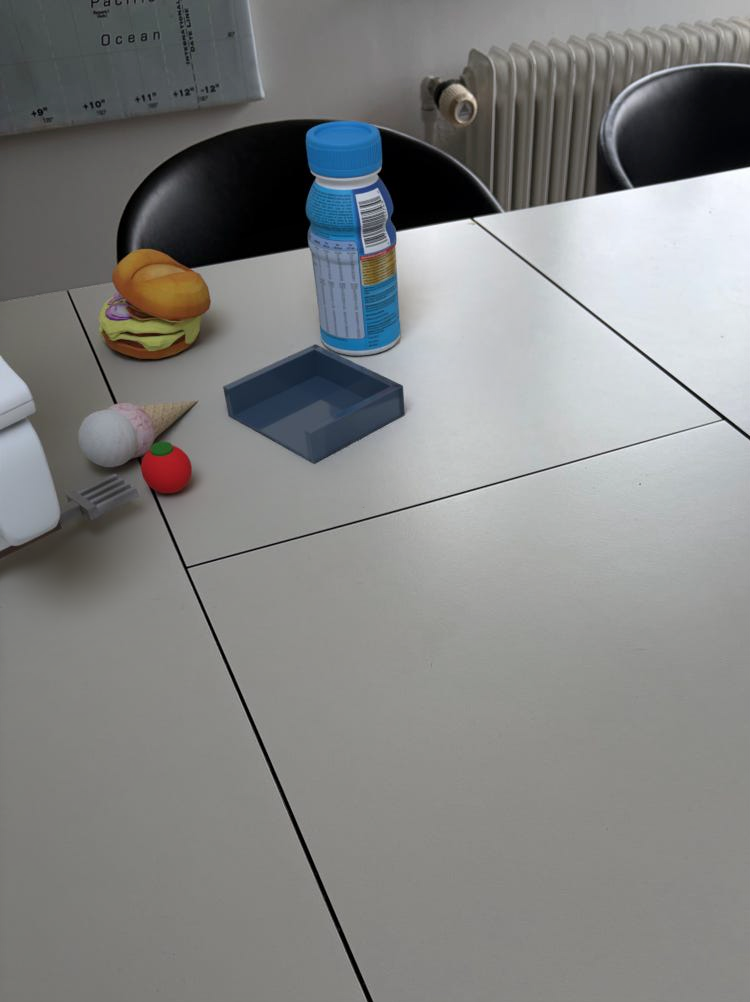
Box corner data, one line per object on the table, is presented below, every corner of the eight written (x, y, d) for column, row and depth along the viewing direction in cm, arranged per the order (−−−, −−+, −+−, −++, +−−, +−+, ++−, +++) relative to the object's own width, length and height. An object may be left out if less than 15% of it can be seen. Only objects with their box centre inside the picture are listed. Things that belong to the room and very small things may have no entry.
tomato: (137, 490, 87) (126, 448, 84) (177, 470, 89) (167, 429, 86) (165, 508, 85) (154, 466, 82) (205, 488, 87) (196, 446, 84)
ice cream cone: (171, 404, 99) (59, 450, 87) (187, 364, 96) (74, 406, 84) (209, 435, 99) (103, 485, 87) (226, 396, 96) (119, 442, 84)
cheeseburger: (115, 317, 110) (116, 224, 104) (216, 341, 112) (223, 251, 105) (85, 361, 103) (84, 265, 96) (194, 386, 104) (200, 293, 98)
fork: (-58, 595, 74) (-74, 562, 72) (-79, 576, 75) (-95, 543, 73) (139, 496, 83) (130, 464, 81) (117, 481, 84) (107, 449, 82)
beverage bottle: (316, 359, 103) (290, 147, 90) (323, 321, 110) (299, 117, 96) (401, 358, 104) (388, 145, 90) (403, 319, 110) (391, 115, 96)
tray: (228, 415, 96) (222, 386, 94) (318, 372, 101) (315, 343, 99) (314, 463, 90) (310, 433, 88) (405, 414, 96) (403, 385, 93)
